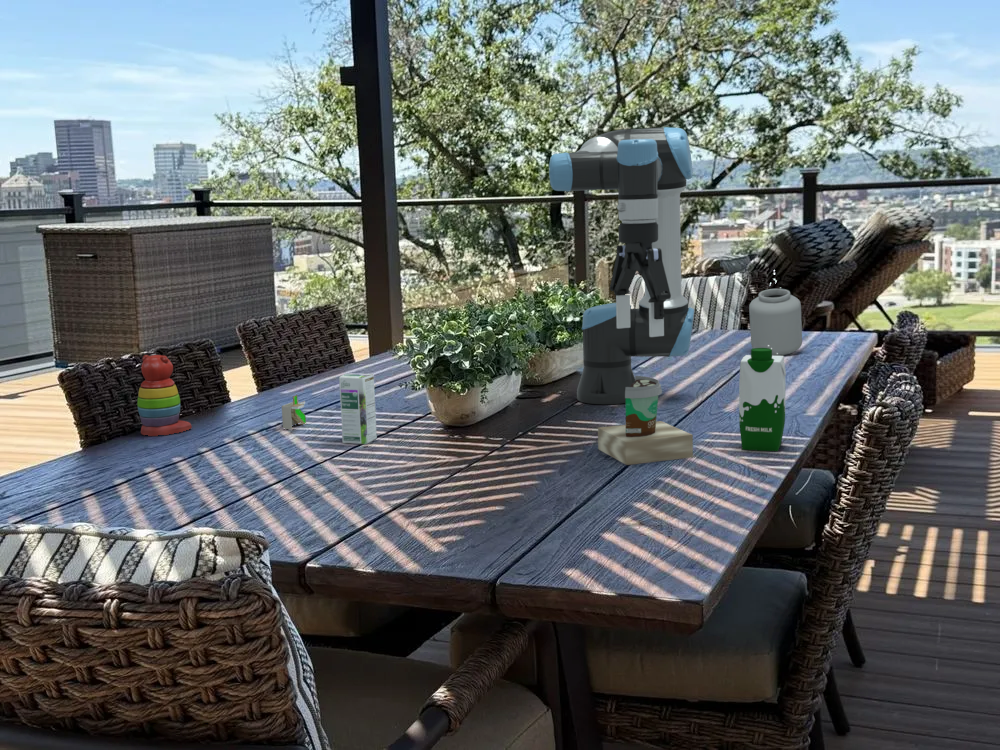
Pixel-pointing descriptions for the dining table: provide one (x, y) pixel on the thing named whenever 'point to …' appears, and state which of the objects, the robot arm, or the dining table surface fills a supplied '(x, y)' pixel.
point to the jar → (776, 321)
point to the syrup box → (357, 408)
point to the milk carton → (762, 400)
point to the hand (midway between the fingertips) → (639, 332)
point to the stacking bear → (159, 398)
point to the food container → (642, 406)
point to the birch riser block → (645, 444)
